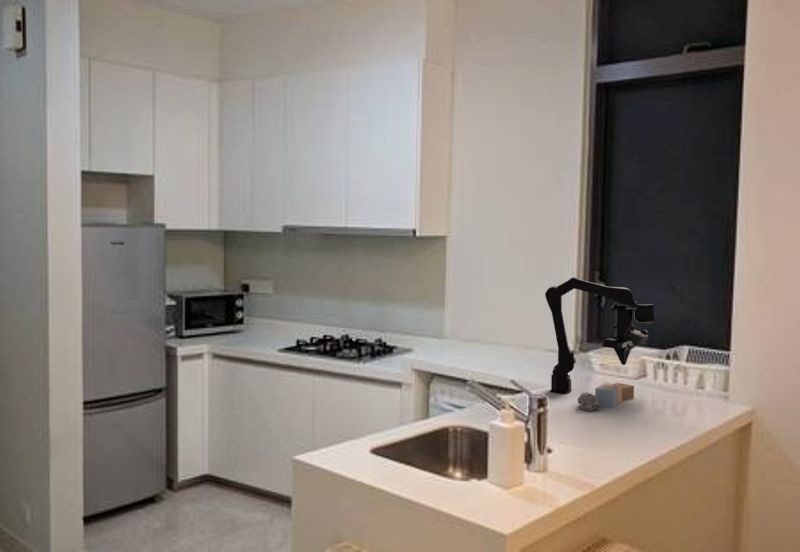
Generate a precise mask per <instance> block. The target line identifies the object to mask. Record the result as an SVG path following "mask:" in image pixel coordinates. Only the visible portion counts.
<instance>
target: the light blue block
mask: <svg viewBox="0 0 800 552" xmlns="http://www.w3.org/2000/svg"><path fill="white" fill-rule="evenodd" d="M594 393H595V395H594V396H596V399H597V400H598V402H599V403H600V404H601V407H602V408H609V407H610V409H613V408H614V407H616V406H617V405H618V404H617V388H612V387H604V386H601V385H599V386H598V387H596V388H595V392H594Z"/></svg>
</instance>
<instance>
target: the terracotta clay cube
mask: <svg viewBox="0 0 800 552" xmlns="http://www.w3.org/2000/svg"><path fill="white" fill-rule="evenodd" d="M600 386H604V387H612V388H617V405H619V404H620V403H621V402H622V401H623V400H622V385H618V384H614V383H610V382H604V383H602V384H600Z"/></svg>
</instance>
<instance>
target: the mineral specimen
mask: <svg viewBox="0 0 800 552" xmlns="http://www.w3.org/2000/svg"><path fill="white" fill-rule="evenodd" d="M577 404H579V405H580V409H582V410H583V411H587V412H592V411H594V410H596V411H599V410H600V408H601V407H602V406H601V404H600V403H599V402H598V400H597V399H596V396H595V395H594V394H593V393H589V392H582V393H581V394H580V396H578V398H577Z"/></svg>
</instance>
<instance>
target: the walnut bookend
mask: <svg viewBox="0 0 800 552" xmlns="http://www.w3.org/2000/svg"><path fill="white" fill-rule="evenodd" d="M613 384H618V385H622V401H624V400H625V401H626V400H629V399H633V398H634V397H635V386H634V385H633V384H626V383H621V382H615V383H613Z"/></svg>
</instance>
